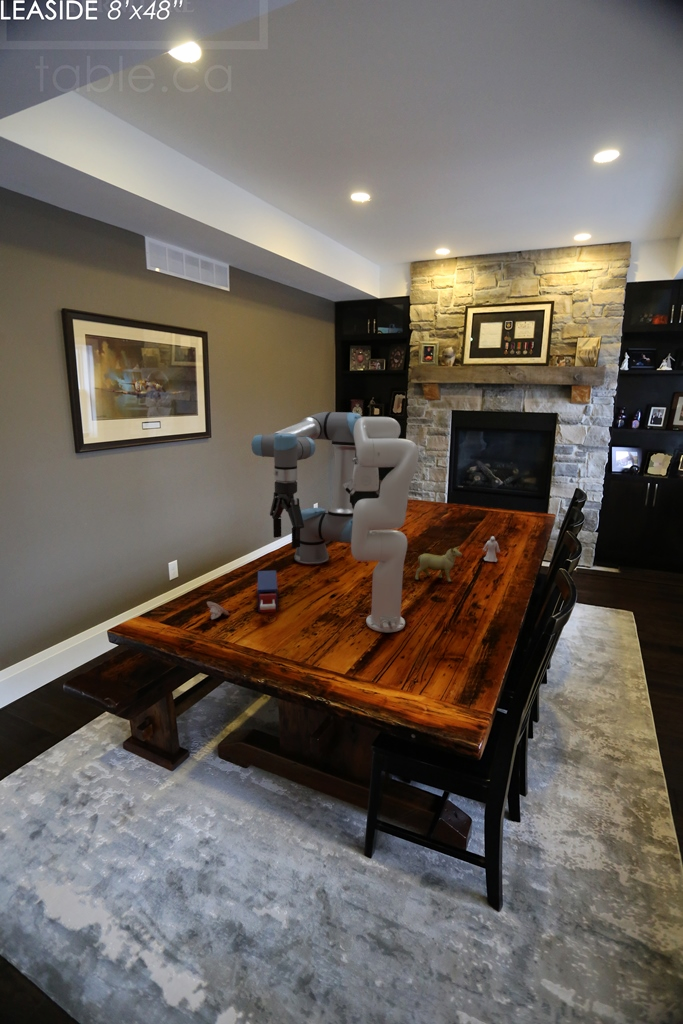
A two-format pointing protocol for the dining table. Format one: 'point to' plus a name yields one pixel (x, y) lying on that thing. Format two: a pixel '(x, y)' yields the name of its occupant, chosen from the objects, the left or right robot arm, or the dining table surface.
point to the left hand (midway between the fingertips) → (286, 542)
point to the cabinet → (267, 584)
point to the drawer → (267, 602)
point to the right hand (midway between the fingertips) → (364, 504)
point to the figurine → (491, 550)
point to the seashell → (216, 610)
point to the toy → (438, 563)
